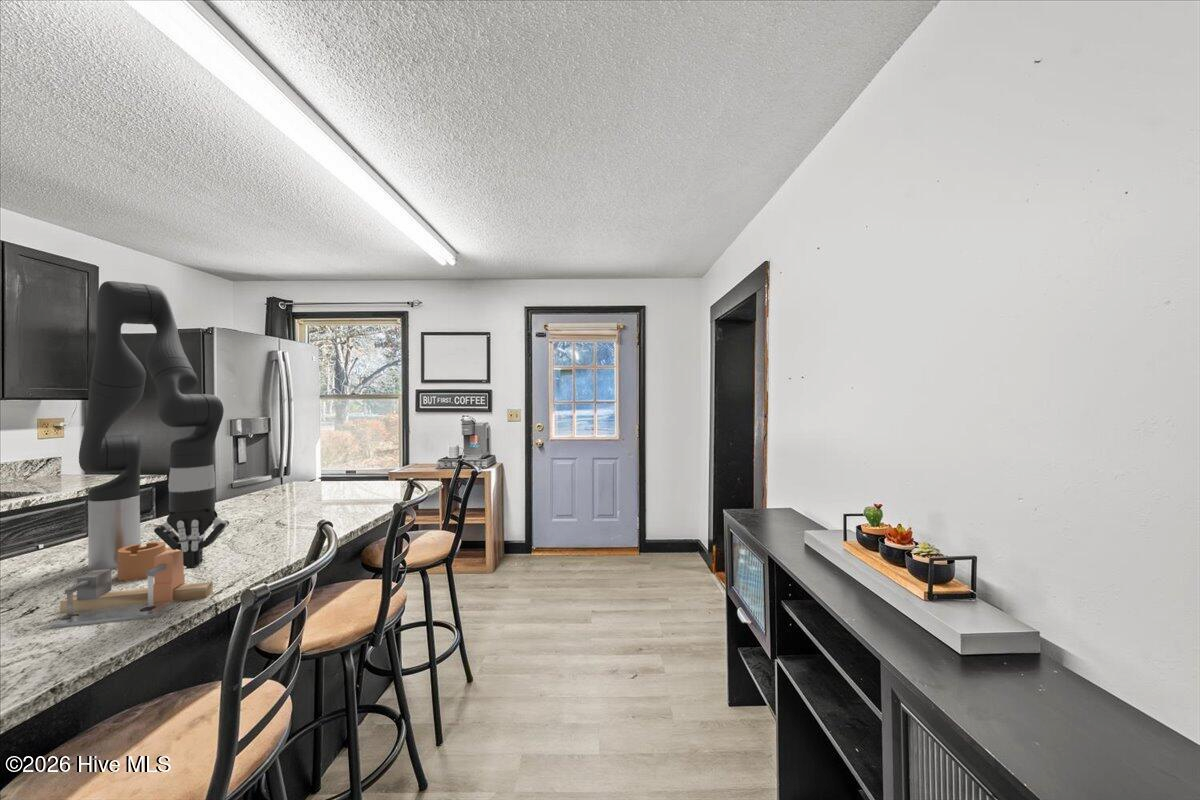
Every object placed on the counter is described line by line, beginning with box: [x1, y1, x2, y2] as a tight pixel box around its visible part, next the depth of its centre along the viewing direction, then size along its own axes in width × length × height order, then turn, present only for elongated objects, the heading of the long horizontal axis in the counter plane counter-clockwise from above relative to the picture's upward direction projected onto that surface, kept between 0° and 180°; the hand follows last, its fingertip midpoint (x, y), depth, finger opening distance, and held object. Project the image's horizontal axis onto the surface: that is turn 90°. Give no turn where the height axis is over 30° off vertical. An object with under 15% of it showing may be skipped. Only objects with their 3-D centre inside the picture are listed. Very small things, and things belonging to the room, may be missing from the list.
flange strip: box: [49, 601, 176, 629], centre depth 92 cm, size 6×16×1 cm, turn 107°
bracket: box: [117, 541, 173, 581], centre depth 118 cm, size 18×8×7 cm, turn 31°
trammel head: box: [146, 549, 186, 607], centre depth 98 cm, size 10×3×10 cm, turn 17°
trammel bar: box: [59, 569, 214, 616], centre depth 96 cm, size 9×24×7 cm, turn 107°
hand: (192, 567), depth 101 cm, fingers closed
